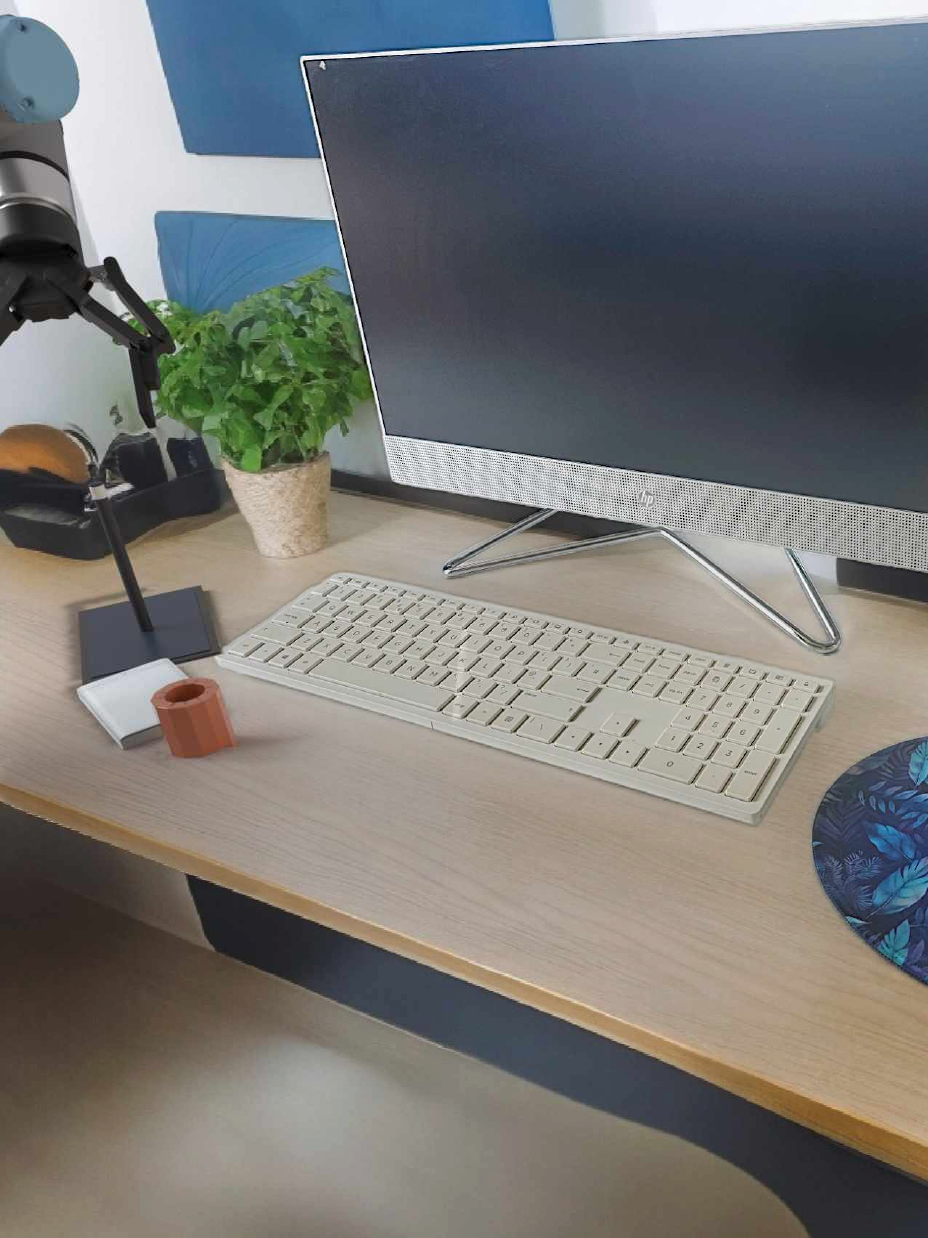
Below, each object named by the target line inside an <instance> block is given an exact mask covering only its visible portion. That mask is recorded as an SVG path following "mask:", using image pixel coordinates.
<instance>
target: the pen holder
mask: <svg viewBox="0 0 928 1238" xmlns="http://www.w3.org/2000/svg"><path fill="white" fill-rule="evenodd" d="M189 678H190V679H182V680H179V681H176V682H173V683H170V684H167V685H166V686H164V687H163V688H161V689H160V690H158V691H157V692H155V693H154V695H153V697H152V699H151V701H150V702H151V704H152V707H153V710H154V713H155V716H156V718H157V721H158V724H159V727H160V729H161V732H162V737H163V740H164V743H165V746H166V748H167V751H168V755H171V756H172V757H176V758H179V759H180V758H181V759H194V758H203V757H206V756H208V755H212V754H215V753H217V752H219V751H222V750H223V749H227V748H234V747H236V748H237V746H238V740H237V736H236V734H235V730H234V728H233V723H232V722H231V718H230V714H229V712H228V708H227V706H226V703H225V700H224V696H223V693H222V690H221V687H220V685H219V684H218V683H217V682H216V680H215V679H213V678H207V677H189Z"/></svg>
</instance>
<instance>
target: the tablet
mask: <svg viewBox="0 0 928 1238" xmlns="http://www.w3.org/2000/svg"><path fill="white" fill-rule="evenodd" d="M142 597H143V596H142ZM143 600H144V603H145V606H146V609H147V611H148V614H149V617H150V620H151V623H152V626H153V629H151V630H149V631H145V632H142V631H140V629H139V626H138V623H137V621H136V618H135V615H134V612H133V609H132V606H131V604H130V601H129V600H125V601H121V602H116V603H111V604H107V605H103V606H98V607H94V608H89V609H84V610H80V611H79V610H78V612H77V619H78V620H77V621H78V635H79V651H80V652H79V653H80V668H81V680H82V681H81V683H82V684H81V686H83V685H86V684H89V683H92V682H95V681H97V680H100V679H103V678H106V677H109V676H112V675H115V674H118V673H121V672H124V671H127V670H130V669H133V668H136V667H139V666H142V665H145V664H147V663H150V662H154V661H157V660H159V659H163V658H168V659H169V660H170V661H171V662H173V663H174V664H175V665H176V666H177V665H180V664H184V663H189V662H192V661H196V660H197V661H198V660H201V659H205V658H210V657H214V656H217V655H221V654H222V653H221V649H220V645H219V641H218V638H217V635H216V632H215V628H214V624H213V621H212V617H211V614H210V611H209V607H208V604H207V600H206V597H205V593H204V590H203V587H202V585H201V584H199V585H195V586H190V587H185V588H181V589H176V590H172V591H171V590H170V591H167V592H162V593H157V594H152V595H149V596H144V597H143Z"/></svg>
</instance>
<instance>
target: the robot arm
mask: <svg viewBox="0 0 928 1238" xmlns="http://www.w3.org/2000/svg"><path fill="white" fill-rule="evenodd" d="M76 62H77V61H76V59H75V57H74V55H73V52H72V51H71V49H70V47H69V46H68V45H67V43H66V42H65V41H64V40H63V38H62V37H61V36H60V35H59V34H58V33H57V32H56V31H55V30H54V29H52V28H51V27H50V26H49V25H47V24H46V23H44V22H43V21H40V20H38V19H36V18H32V17H27V16H17V15H13V14H10V13H6V14H5V13H4V14H2V15H0V347H2V345H3V344H4V343H5V342H6V340H7V339H8V338H9V337H10V335H11V334H12V333H13V332H18V331H19V330H20V329H21V328H22V326H23V325H24V324H25V323H26V321H27V320H28V321H31V323H32V324H35V323H42V322H43V323H44V322H45V321H49V320H59V321H60V320H61V321H63V320H69V319H70V316H72V315H74V314H77V315H78V316H80V317H81V318H82V319H83V320H85V321H86V322H88V323H90V324H93V325H94V326H96V327H97V328H99V329H100V330H101V331H103V332H104V333H105V334H107V335H108V336H110V337H111V338H112V339H114V340H116V341H117V342H118V343H119V344H120V345H122V346H123V347H125V348H126V349H127V352H128V357H129V364H130V369H131V376H132V380H133V386H134V391H135V396H136V402H137V408H138V414H139V415H140V417H141V419H142V421H143V423H144V424H145V426H146V428H147V429H148V430H149V429H154V428H155V429H156V428H157V422H156V417H155V411H154V405H153V401H152V394H151V392H152V391H160V390H161V387H162V381H161V375H160V369H159V365H158V359H159V358H160V357H161V356H163V355H164V354H167V355H172V354H174V353H176V352H177V346H176V343H175V341H174V339H173V337H172V334H171V332H170V330H169V329H168V328H167V327H166V326H165V324H164V323H163V322H162V321H161V320H160V319H159V317H158V316H157V315H156V314H155V313H154V312H153V310H152V309H151V308H150V307H149V306H148V304H147V303H146V302H145V300H143V298H142V297H141V296H140V295H139V294H138V293H137V292H136V290H135V289H134V288H133V287H132V286H131V284H130V283H129V282H128V281H127V280H126V279H127V278H126V276H125V274H124V273H123V270H122V268H121V266H120V264H119V261H118V260H117V258H116V257H115V256H109V255H108V256H106V257H105V258H104V259H103V261H102V263H103V264H100V265H95V266H87V265H86V262H85V259H84V258H85V257H84V251H83V246H82V240H81V235H80V230H79V228H78V218H77V212H76V206H75V200H74V195H73V190H72V185H71V178H70V171H69V165H68V158H67V152H66V145H65V139H64V136H65V132H64V125H63V122H62V119H63V118H65V117H66V116H68V115H69V114H70V113H71V112H72V111H73V109H75V106H76V104H77V102H78V100H79V95H80V83H81V81H80V76H79V67H78V66H77V63H76ZM95 283H96V284H97V283H98V284H100V285H102V287H103V288H104V289H105V290H108V291H109V292H112V293H113V292H115V294H116V296H117V298H118V300H119V301H120V302H121V304H122V305H124V308H126V309H127V311H128V312H129V313H130V314H131V315H132V316H133V317H134V318H135V320H136V321H137V322H138V323H139V324H140V326H141V327H142V328H143V329H144V330H145V331H146V332H144V333H142V332H140V331H139V330H138V329H136V328H135V327H133V326H132V325H130V324H129V323H128V322H127V321H125V320H124V319H122V318H121V317H120V316H118V315H117V314H115V313H114V312H113V311H111V310H110V309H109V308H108V307H106V306H105V305H103V304H102V303H100V302H99V301H98V300H96V299H94V297H93V296H91V294H90V292H91V290H92V289H93V287H94V284H95ZM147 334H148V335H149V336H148V335H147Z"/></svg>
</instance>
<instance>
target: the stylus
mask: <svg viewBox="0 0 928 1238" xmlns="http://www.w3.org/2000/svg"><path fill="white" fill-rule="evenodd" d="M103 482H104V481H103V480H94V481H90V482H89V483H88V488H89V491H90V494H91V496H92V499H93V502H94V505H95V507H96V510H97V513H98V516H99V518H100V521H101V525H102V527H103V530H104V533H105V536H106V538H107V542H108V544H109V547H110V550H111V553H112V556H113V558H114V561H115V564H116V567H117V570H118V573H119V575H120V577H121V581H122V583H123V587H124V589H125V592H126V595H127V598H128V601H130V604H131V606H132V609H133V612H134V615H135V618H136V621H137V623H138V626H139V629H140V631H142V632H145V631H149V630H151V629H153V626H152V623H151V620H150V617H149V614H148V611H147V609H146V606H145V603H144V600H143V595H142V591H141V589H140V586H139V583H138V580H137V577H136V574H135V571H134V567H133V566H132V563H131V560H130V556H129V553H128V551H127V548H126V546H125V542H124V540H123V537H122V534H121V531H120V528H119V525H118V522H117V519H116V517H115V514H114V511H113V508H112V505H111V502H110V499H109V496H108V493H107V490H106V487H105V484H104V483H103Z"/></svg>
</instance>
